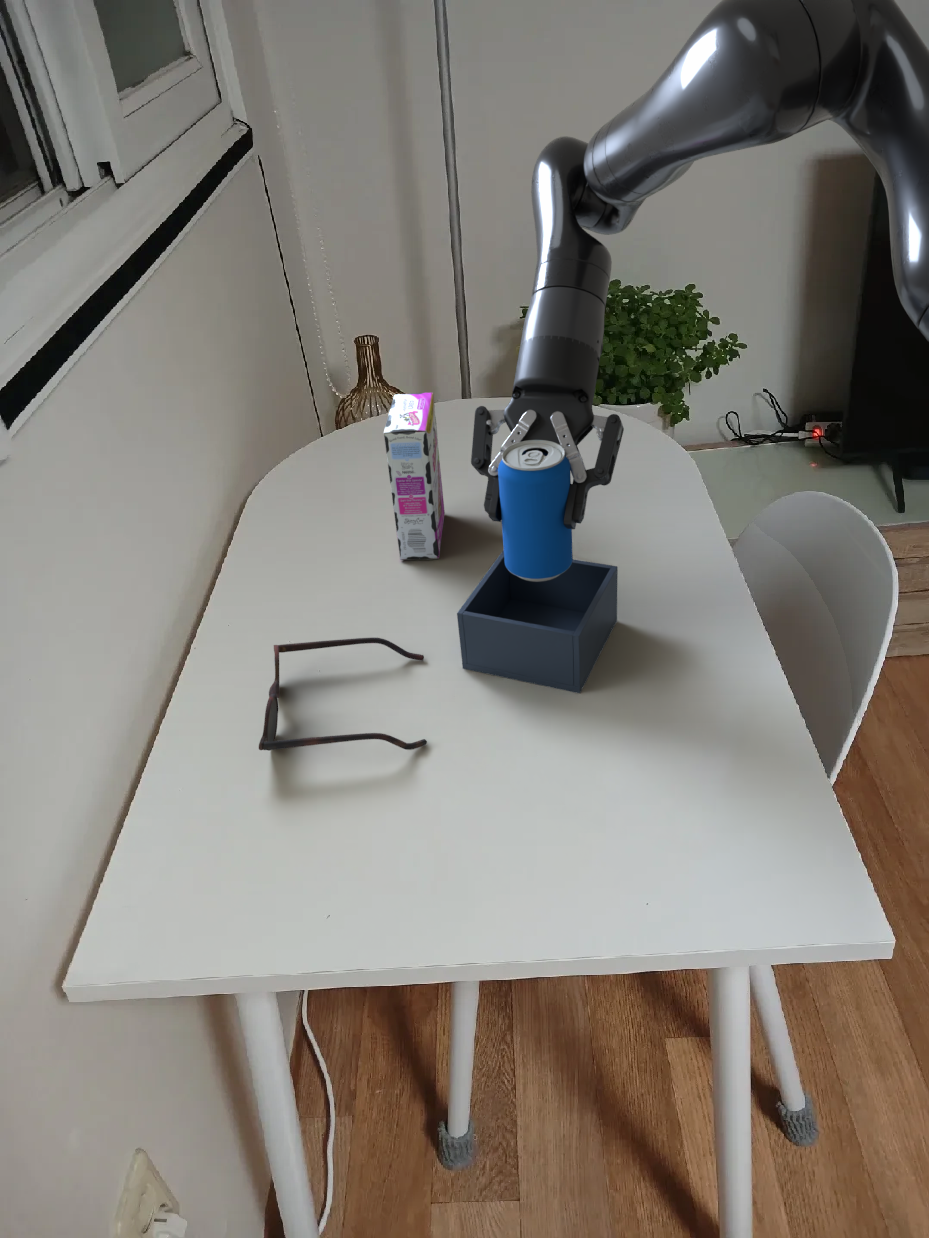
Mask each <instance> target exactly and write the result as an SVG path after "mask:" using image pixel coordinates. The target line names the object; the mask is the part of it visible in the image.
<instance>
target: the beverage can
mask: <svg viewBox="0 0 929 1238" xmlns="http://www.w3.org/2000/svg"><path fill="white" fill-rule="evenodd" d="M531 448H542V449H545V450H547V451H548V454H547V453H544V452H543V453H542V452H541V451H537V450H533V451H529V452H526V451H525V450H527V449H531ZM571 477H572V475H571V471H570V462H569V460H568V459H567V457H566V456H565V451H564V449H563V447H562V446H560V445H559V444H557V443H554V442H551V441H546V440H528V441H522V442H519V443H516V444H513V445H511V446H509V447H508V448H506V449H505V450H504V452H503V453H502V460H501V462H500V464H499V466H498V478H499V492H500V506H501V519H502V520H501V530H502V531H501V532H502V533H501V534H502V544H503V550H504V560H505V566H506V568H507V569H508V570H509V571H510V572H511V573H512V574H514V575H516V576H518V577H520V578H522V579H524V580H528V581H536V582H538V581H547V580H551V579H553V578H556V577H557V576H559V575H560V574H562V573H563V572H565V571H566V570H567V569H568V568H569V567H570V566H571V564H572V559H573V529H567V528H566V527H565V525H564V516H565V509H566V503H567V497H568V492H569V487H570V484H572V479H571Z"/></svg>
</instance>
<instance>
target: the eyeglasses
mask: <svg viewBox="0 0 929 1238" xmlns="http://www.w3.org/2000/svg"><path fill="white" fill-rule="evenodd" d="M363 644H379V645H383V646H384V647H388V648H389V649H391V650H393V651H394V652H396V653H397V654H399V655H401V656H402V657H405V658H407V659H411V660H415V661H423V660H424V659H425V656H424V655H423V654H421V653H414V652H411V651H407V650H405V649H403V647H400V646H399V645H397V644H395V643H394V642H392V641H390V640H387V639H385V638H380V637H358V638H357V637H356V638H344V639H343V638H342V639H331V640H319V641H308V642H306V641H305V642H296V643H285V644H273V652H274V681H273V683H272V685H270V687H269V691H268V700H267V703H266V706H265V713H264V724H263V731H262V736H261V738H260V740H259V743H258V750H259V751H269V752H270V751H275V750H283V749H293V748H300V747H309V746H319V745H328V744H335V743H344V742H353V741H365V740H366V741H368V740H380V741H385V742H388V743H390V744H392V745H395V746H396V747H399V748H401V749H403V750H407V751H411V750H417V749H419V748H421V747H425V746H427V744H428V740H427V739H425V738H423V739H419V740H417V741H414V742H405V741H403V740H401V739H399V738H397V737H395V736H392V735H389V734H386V733H381V732H364V733H351V734H340V735H326V736H325V735H323V736H314V737H303V738H291V739H281V740H280V739H279V740H276V738H277V731H278V721H279V718H278V717H279V709H280V708H279V700H278V699H279V698H280V695H281V693H280V692H281V688H280V687H281V686H280V653H290V652H291V653H292V652H300V651H308V650H316V649H326V648H335V647H343V646H353V645H363Z"/></svg>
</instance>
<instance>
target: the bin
mask: <svg viewBox="0 0 929 1238" xmlns="http://www.w3.org/2000/svg"><path fill="white" fill-rule="evenodd" d="M618 570H619V567H618V566H617V565H611V564H605V563H599V562H592V561H587V560H581V559H574V558H572V564H571V566H570V567H569V568H568V569H567V570H566V571H565V572H563V573H562V574H560V575H559V576H557V577H556V578H553V579H551V580H547V581H538V582H536V581H528V580H524V579H522V578H520V577H518V576H516V575H514V574H512V573H511V572H510V571H509V570H508V569H507V568H506V566H505V560H504V549H503V550H502V551H501V553H500V554H499V555H498V557H497V558H496V559H495V561H494V562H493V563H492V565H491V566H490V567H489V568H488V570H487V572H486V573H485V574H484V576H483V577H482V578H481V580H480V581H479V582H478V584H477V585H476V587H474V590H473V591H472V592H471V593H470V595H469V596H468V597H467V598H466V600H465V601H464V603H463V604H462V606H461V607H460V608H459V610H458V611H456V618H457V628H458V637H459V646H460V654H461V655H460V656H461V665H462V669H463V670H466V671H467V670H468V671H473V672H477V673H480V674H486V675H491V676H494V677H495V676H496V677H500V678H505V679H509V680H515V681H519V682H523V683H529V684H533V685H538V686H542V687H547V688H551V689H556V690H561V691H566V692H570V693H574V694H576V693H577V694H581V692H582V690H583V689H584V686H585V685H586V683H587V680H588V679H589V678H590V675H591V673H592V671H593V670H594V667H595V665H596V664H597V662H598V659H599V658H600V655H601V653H602V652H603V649H604V647H605V646H606V644H607V642H608V640H609V638H610V635H611V634H612V632H613V630H614V628H615V626H616V624H617V623H618V577H619V576H618Z"/></svg>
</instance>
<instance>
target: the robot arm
mask: <svg viewBox="0 0 929 1238" xmlns="http://www.w3.org/2000/svg"><path fill="white" fill-rule="evenodd" d="M827 121H832V122H833V123H835V124H837V125H838V126H839V127H840V128H841V129H842V130H844V132H845V133H847V134H848V136H850V137H851V139H852V140H853V141H854V142H855V143H856V144H857V145H858V147H859V148H860V150H861V151H862V152H863V154H864V155H865V156H866V158H867V159H868V160H869V162H870V163H871V164H872V165H873V167H874V169H875V171H876V172H877V174H878V175H879V177H880V179H881V182H882V185H883V188H884V190H885V195H886V200H887V207H888V208H887V209H888V221H889V241H890V242H889V243H890V255H891V265H892V274H893V280H894V285H895V288H896V292H897V293H896V294H897V295H898V298H899V301H900V304H901V306H902V308H903V309H904V311H905V312H906V314H907V315H908V317H909V319H910V320H911V321H912V323H913V324H914V325H915V327H916V328H917V330H918V331H919V332H920V333H921V334H922V336H923V337H924V338H925V339H926V341H927V342H928V343H929V48H928V46H927V45H926V44H925V42H924V40H923V39H922V38H921V36H920V35H919V32H917V30H916V29H915V28H914V26H913V24H912V23H911V21H910V20H909V18H908V17H907V16H906V14H905V13H904V11H903V10H902V8H901V7H900V5H899V4H898V3H897V2H896V0H720V2H718V3H717V4H716V5H715V6H714V8H713V7H712V9H711V10H710V11H709V13H707V15H706V16H705V17H704V18H703V20H701V22H700V23H699V24H698V26H697V27H696V28H695V29H694V30H693V32H692V33H691V35H690V36H689V37H688V39H687V40H686V41H685V43H684V44H683V46H682V47H681V49H680V50H679V52H678V53H677V54H676V56H675V57H674V58H673V59H672V61H671V62H670V64H669V65H668V66H667V68H666V69H665V70H664V71H663V72H662V74H661V75H660V76H659V78H658V79H657V80H656V81H655V82H654V84H653V85H652V86H651V87H650V88H649V89H648V90H646V92H645V93H644V94H642V95H641V96H640V97H638V98H637V99H635V100H634V101H633V102H631V103H630V104H629V105H628V106H626V107H625V108H624V109H622V110H621V111H620V112H618V113H616V115H615V116H613V117H612V118H611V119H609V120H608V122H606V123H604V124H603V125H602V126H601V127H600V128H598V130H597V131H596V132H595V133H594V134H593V136H592V137H591V138H590V140H589V141H588V142H587V141H584V140H582V139H579V138H576V137H572V136H559V137H556V138H554V139H552V140H551V141H549V143H547V144H546V146H544V147H543V149H542V150H541V151H540V153H539V155H538V156H537V158H536V161H535V164H534V166H533V171H532V175H531V176H532V177H531V189H530V190H531V191H530V193H531V194H530V195H531V205H532V213H533V214H532V215H533V220H534V230H535V239H536V267H535V273H534V280H533V283H532V284H533V285H532V291H531V297H530V301H529V305H528V307H527V311H526V315H525V318H524V322H523V327H522V333H521V338H520V343H519V344H520V345H519V351H518V356H517V362H516V368H515V372H514V373H515V374H514V380H513V386H512V390H511V391H512V393H511V398H510V401H509V402H508V404H507V405H506V407H505V408H504V409H493V410H492V409H487V407H486V406H484V405H480V406H478V407H476V408H475V411H474V420H473V422H474V423H473V433H472V445H471V454H470V455H471V457H470V464H471V466H472V467H473V468H474V469H475V471H476V472H478V474H479V475H481V476H484V477H487V484H486V488H485V489H486V490H485V495H484V501H483V508H484V511H485V512H486V513H487V515H488V518H489V519H490V520H491V521H492V522H498V523H500V522H501V523H502V519H501V506H500V492H499V478H498V466H499V464H500V462H501V460H502V453H503V452H504V450H505V449H506V448H508V447H509V446H511V445H513V444H516V443H519V442H522V441H528V440H546V441H551V442H554V443H557V444H559V445H560V446H562V447H563V449H564V451H565V456H566V457H567V459H568V460H569V462H570V474H571V477H572V483H571V484H570V487H569V492H568V497H567V503H566V509H565V516H564V525H565V527H566V528H567V529H572V530H576V527H577V524H582V522H583V521H584V519H585V515H586V514H585V513H586V506H587V500H588V494H589V491H590V490H591V489H592V488H594V487H596V486H603V487H605V486H608V485H609V484H611V481H612V478H613V474H614V471H615V467H616V462H617V458H618V454H619V450H620V447H621V443H622V439H623V434H624V430H625V428H624V426H623V422H622V420H621V417H620V416H619V415H618V414H616V413H612V414H610V415H608V416H603V415H597V414H594V411H593V403H594V397H595V391H596V384H597V380H598V379H597V378H598V372H599V367H600V360H601V356H602V353H603V348H604V343H603V340H604V333H605V311H606V305H607V299H608V293H609V286H610V280H611V273H612V256H611V253H610V252H609V249H608V248H607V247H606V246H605V245H604V244H603V243H602V242H601V241H599V240H598V239H597V238H596V237H594V236H592V235H591V233H588V232H587V231H590V232H592V233H595V234H599V235H604V236H605V235H606V236H607V235H608V236H609V235H617V234H619V233H622V232H624V231H625V230H626V229H627V228H628V227H629V226H630V224H631V223H632V221H633V220H634V218H635V216H636V214H637V212H638V211H639V208H640V207H641V206H642V205H643V203H644V202H645V201H646V200H647V198H649V197H651V196H653V195H655V194H657V193H659V192H660V191H662V190H664V189H666V188H668V187H669V186H671V185H672V184H674V183H675V182H677V181H678V180H679V179H680V178H681V177H683V176H684V175H685V174H686V173H687V172H689V170H690V168H691V167H692V166H693V164H694V163H695V162H696V161H699V160H702V159H704V158H709V157H713V156H717V155H721V154H726V153H731V152H736V151H740V150H741V151H742V150H746V149H751V148H755V147H761V146H767V145H771V144H775V143H778V142H782V141H784V140H786V139H788V138H790V137H793V136H794V135H797V134H799V133H801V132H803V131H806V130H808V129H810V128H812V127H814V126H817V125H819V124H821V123H823V122H827ZM586 230H587V231H586ZM503 424H506V425H507V427H508V429H509V431H510V434H509V436H508V437H507V438H506V439H505V441H504V442H503V444H502V445H501V447H500V450H499V453H498V454H497V455H496V456H495V458H494V459H493V460H492V455H493V454H492V451H493V441H494V440H493V439H494V435H496V434H497V433H499V431H500V428H501V426H502V425H503ZM593 429H595V430H596V435H597V438H598V440H599V441H600V444H599V449H598V453H597V457H596V461H595V464H594V467H592V468H588V469H587V468H586V466H585V462H584V459H583V457H582V456H581V451H580V450H579V447H578V445H579V444H580V443H581V442H582V441H583V440H584V439H585V438H586V437H587V436H588V435H589V434H590V433H591V432H592V430H593ZM533 450H537V451H541V452H542V453H543V452H544V453H547V454H548V451H547V450H545V449H542V448H531V449H527V450H525V451H526V452H529V451H533Z"/></svg>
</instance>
